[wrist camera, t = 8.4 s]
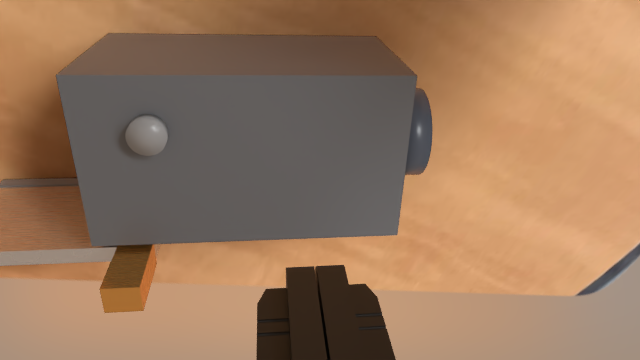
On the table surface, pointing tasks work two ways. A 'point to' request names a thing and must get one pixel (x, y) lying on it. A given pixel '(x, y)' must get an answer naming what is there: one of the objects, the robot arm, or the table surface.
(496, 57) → the table surface
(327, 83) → the grey box machine
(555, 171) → the table surface
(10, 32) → the table surface
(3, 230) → the side door
